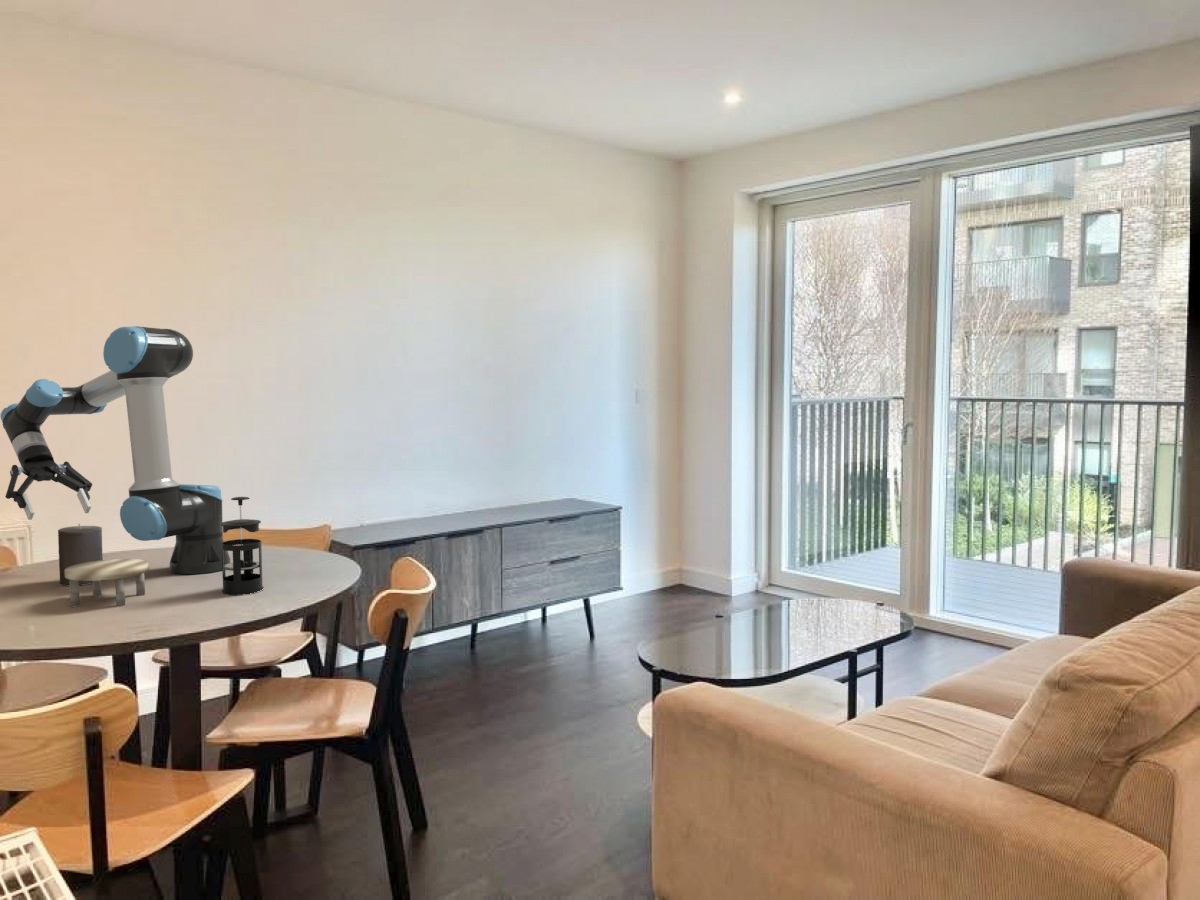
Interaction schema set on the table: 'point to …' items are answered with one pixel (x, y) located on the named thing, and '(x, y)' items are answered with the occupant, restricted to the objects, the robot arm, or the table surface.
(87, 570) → the beige round legged stand
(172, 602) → the table surface
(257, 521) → the french press
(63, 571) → the pillar candle
